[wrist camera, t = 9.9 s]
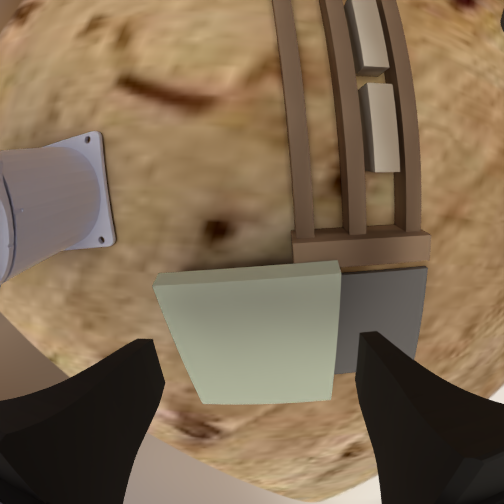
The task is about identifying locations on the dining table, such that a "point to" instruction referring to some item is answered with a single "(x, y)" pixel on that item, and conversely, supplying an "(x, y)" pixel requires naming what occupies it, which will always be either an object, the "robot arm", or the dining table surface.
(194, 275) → the sheet
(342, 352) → the mat
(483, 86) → the dining table surface
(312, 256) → the rack
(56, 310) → the dining table surface
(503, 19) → the phone case
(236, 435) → the dining table surface
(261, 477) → the dining table surface
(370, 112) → the offcut
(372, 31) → the offcut
